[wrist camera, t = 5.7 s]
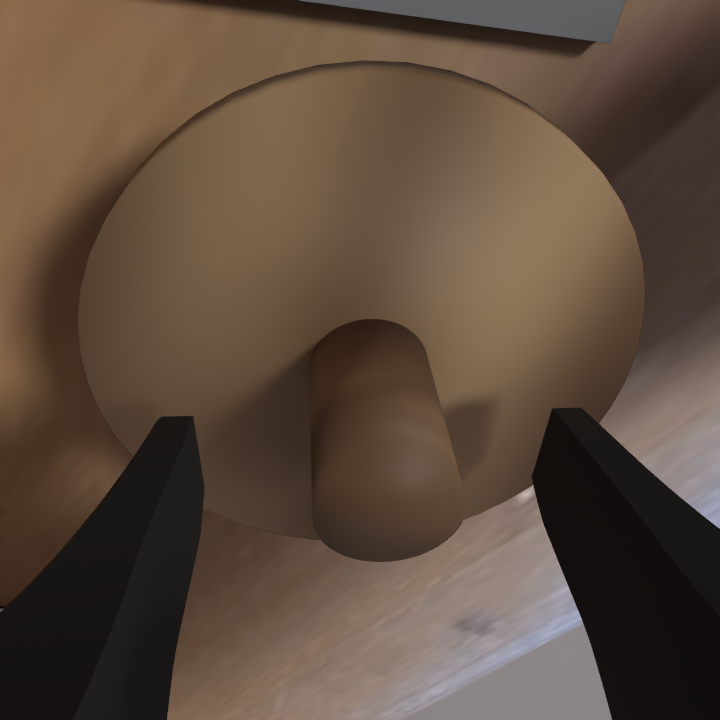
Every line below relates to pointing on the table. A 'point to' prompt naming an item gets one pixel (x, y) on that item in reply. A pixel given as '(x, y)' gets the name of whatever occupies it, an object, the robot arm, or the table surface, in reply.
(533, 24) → the mat
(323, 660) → the table surface
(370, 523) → the lid
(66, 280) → the table surface
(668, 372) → the table surface
